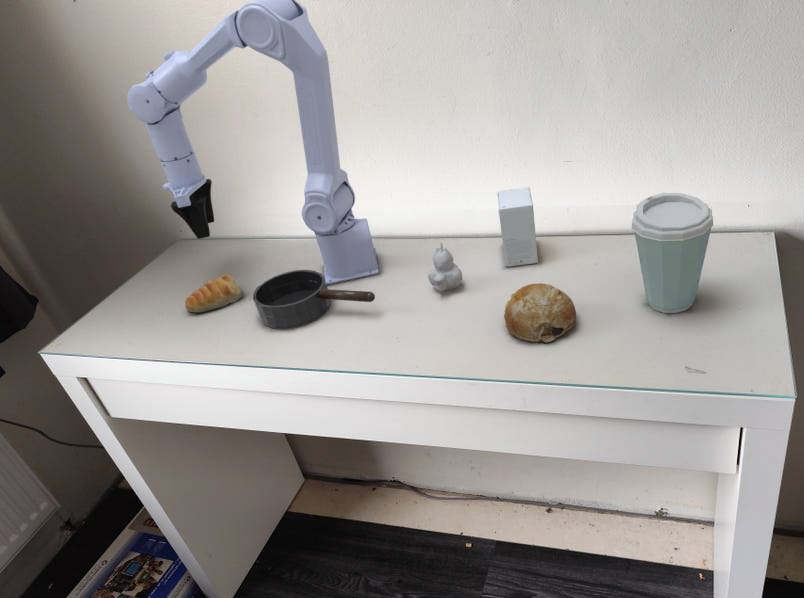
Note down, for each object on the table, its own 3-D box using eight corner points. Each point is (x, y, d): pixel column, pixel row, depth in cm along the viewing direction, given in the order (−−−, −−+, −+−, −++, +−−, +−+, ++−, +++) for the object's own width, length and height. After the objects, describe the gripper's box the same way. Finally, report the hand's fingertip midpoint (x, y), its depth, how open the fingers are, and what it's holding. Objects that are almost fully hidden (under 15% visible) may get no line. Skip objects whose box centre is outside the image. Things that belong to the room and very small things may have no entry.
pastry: (195, 320, 113) (186, 301, 111) (182, 307, 118) (173, 288, 115) (246, 297, 117) (239, 278, 115) (231, 285, 122) (224, 267, 120)
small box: (538, 264, 112) (533, 205, 106) (505, 268, 112) (498, 209, 106) (535, 242, 118) (530, 185, 112) (503, 246, 119) (497, 190, 113)
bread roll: (523, 367, 96) (532, 336, 89) (488, 314, 100) (494, 280, 93) (581, 341, 98) (593, 310, 92) (544, 291, 103) (553, 257, 96)
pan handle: (317, 300, 107) (315, 292, 106) (322, 295, 108) (320, 286, 107) (373, 304, 104) (371, 295, 103) (377, 298, 105) (375, 290, 104)
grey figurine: (468, 278, 111) (461, 235, 107) (456, 299, 106) (449, 255, 102) (437, 278, 113) (429, 235, 108) (425, 298, 108) (416, 254, 103)
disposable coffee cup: (724, 303, 95) (734, 204, 86) (667, 332, 91) (672, 232, 83) (669, 276, 103) (673, 183, 94) (615, 302, 99) (614, 208, 90)
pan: (330, 285, 116) (324, 264, 114) (332, 319, 107) (325, 297, 104) (263, 299, 116) (255, 278, 113) (258, 336, 106) (250, 313, 104)
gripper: (160, 147, 118) (190, 218, 126) (143, 174, 106) (177, 251, 114) (200, 139, 118) (227, 210, 126) (188, 165, 107) (218, 242, 114)
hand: (206, 229), depth 120 cm, fingers open, 6 cm apart
